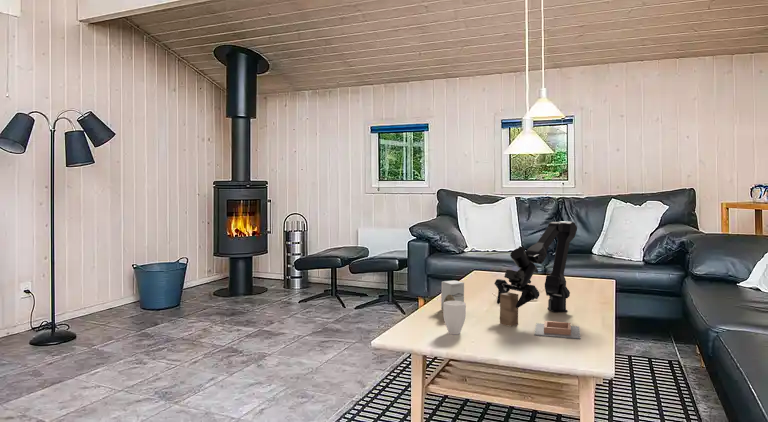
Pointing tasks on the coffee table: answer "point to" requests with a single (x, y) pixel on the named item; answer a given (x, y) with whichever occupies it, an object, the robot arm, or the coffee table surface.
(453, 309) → the mug
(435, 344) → the coffee table surface
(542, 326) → the holder
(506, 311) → the block
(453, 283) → the supplement box
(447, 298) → the decorative egg
